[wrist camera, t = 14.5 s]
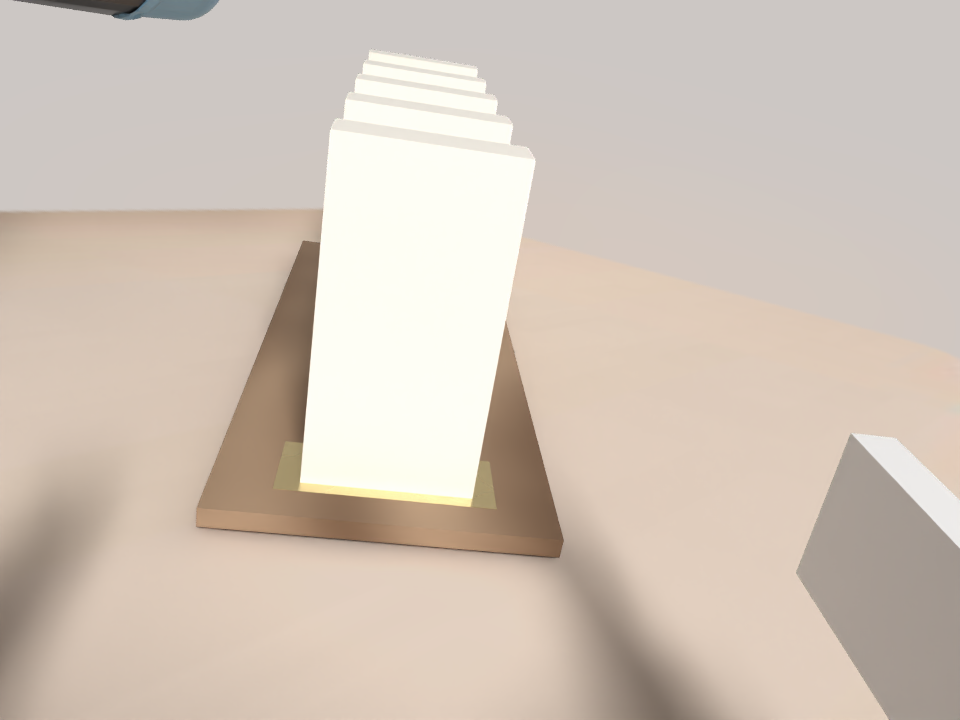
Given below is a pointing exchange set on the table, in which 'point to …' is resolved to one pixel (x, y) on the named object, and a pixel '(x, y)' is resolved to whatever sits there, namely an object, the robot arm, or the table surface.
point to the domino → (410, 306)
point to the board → (357, 511)
